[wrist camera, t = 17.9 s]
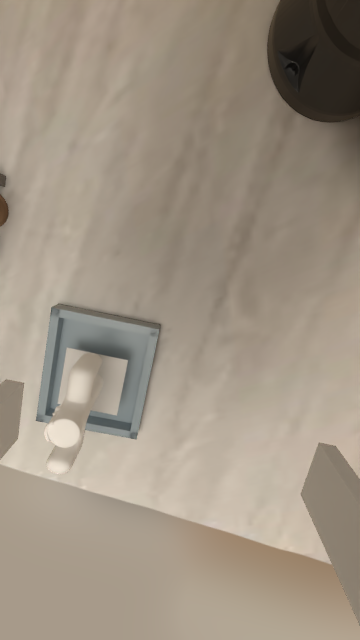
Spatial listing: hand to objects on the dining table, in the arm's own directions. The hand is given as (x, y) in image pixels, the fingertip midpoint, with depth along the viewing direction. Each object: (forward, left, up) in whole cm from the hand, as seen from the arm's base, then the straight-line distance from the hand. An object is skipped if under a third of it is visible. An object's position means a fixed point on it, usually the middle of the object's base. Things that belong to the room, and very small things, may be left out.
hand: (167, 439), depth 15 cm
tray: (+9, -8, -29) cm, 31 cm away
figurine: (+9, -8, -28) cm, 31 cm away
